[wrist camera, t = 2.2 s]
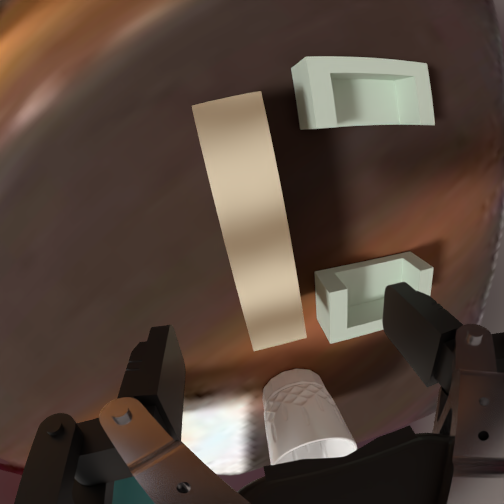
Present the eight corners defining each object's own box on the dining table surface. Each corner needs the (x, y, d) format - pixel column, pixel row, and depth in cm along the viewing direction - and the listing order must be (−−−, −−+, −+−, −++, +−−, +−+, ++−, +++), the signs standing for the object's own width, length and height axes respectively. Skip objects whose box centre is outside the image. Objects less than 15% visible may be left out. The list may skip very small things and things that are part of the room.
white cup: (325, 355, 31) (360, 426, 22) (327, 402, 34) (354, 467, 24) (250, 373, 30) (265, 452, 21) (262, 418, 33) (277, 488, 24)
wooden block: (196, 113, 22) (191, 105, 16) (249, 102, 22) (260, 91, 16) (245, 309, 28) (253, 351, 22) (288, 298, 28) (306, 337, 23)
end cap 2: (406, 296, 30) (427, 315, 26) (316, 319, 29) (330, 343, 25) (410, 251, 28) (433, 267, 24) (314, 271, 27) (329, 292, 23)
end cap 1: (291, 68, 21) (305, 56, 17) (400, 70, 22) (426, 63, 18) (300, 129, 23) (316, 128, 19) (407, 124, 23) (434, 125, 20)
